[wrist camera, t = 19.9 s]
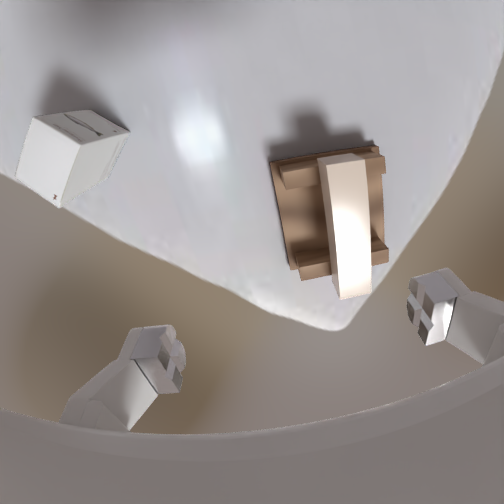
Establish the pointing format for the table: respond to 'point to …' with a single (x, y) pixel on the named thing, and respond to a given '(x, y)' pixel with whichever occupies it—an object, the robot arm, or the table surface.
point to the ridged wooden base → (322, 209)
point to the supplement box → (68, 154)
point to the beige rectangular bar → (347, 222)
